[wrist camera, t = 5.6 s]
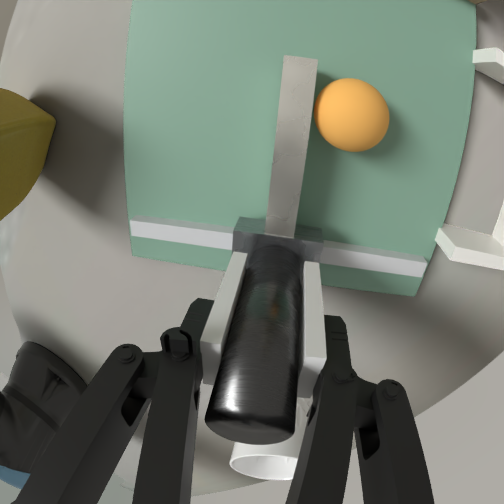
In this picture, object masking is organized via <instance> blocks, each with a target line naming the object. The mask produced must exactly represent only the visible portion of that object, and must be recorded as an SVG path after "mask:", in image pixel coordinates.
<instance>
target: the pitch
mask: <svg viewBox="0 0 504 504" xmlns="http://www.w3.org/2000/svg"><path fill="white" fill-rule="evenodd" d="M484 1H487V0H133V1H132V8H131V15H130V23H129V31H128V41H127V52H126V64H125V81H124V117H123V131H124V168H125V186H126V200H127V212H128V223H129V232H130V241H131V249H132V256H137V257H143V258H149V259H154V260H160V261H166V262H172V263H178V264H185V265H191V266H197V267H203V268H209V269H216V270H222V271H226V270H227V267H228V264H229V262H230V259H231V257H232V242H233V230H234V228H235V225H236V223H237V221H238V219H239V217H240V216H241V217H248V218H256V219H263V220H266V215H267V206H268V198H269V189H270V180H271V171H272V162H273V154H274V144H275V135H276V126H277V117H278V108H279V98H280V89H281V79H282V70H283V60H284V55H289V56H297V57H304V58H311V59H318V65H317V74H316V83H315V91H314V100H313V108H312V116H311V124H310V131H309V139H308V146H307V153H306V160H305V167H304V174H303V181H302V187H301V194H300V200H299V207H298V213H297V219H296V224H298V225H305V226H311V227H318V228H321V229H322V235H323V241H324V245H323V250H322V254H321V258H320V263H319V268H320V278H321V285H325V286H333V287H340V288H348V289H356V290H364V291H371V292H379V293H388V294H396V295H404V296H413V297H415V295H416V293H417V290H418V288H419V286H420V284H421V281H422V279H423V276H424V274H425V272H426V269H427V267H428V264H429V262H430V259H431V257H432V254H433V251H434V249H435V246H436V243H437V242H436V241H435V238H436V235H437V232H438V229H439V228H442V226H443V223H444V220H445V217H446V214H447V211H448V207H449V204H450V201H451V197H452V194H453V190H454V187H455V183H456V179H457V175H458V171H459V167H460V163H461V159H462V154H463V149H464V145H465V140H466V134H467V129H468V123H469V117H470V110H471V103H472V95H473V86H474V75H475V64H473V63H472V62H473V50H476V4H478V3H481V2H484ZM344 78H353V79H359V80H362V81H364V82H367V83H369V84H370V85H372V86H373V87H374V88H376V89H377V90H378V91H379V92H380V94H381V95H382V96H383V98H384V100H385V101H386V104H387V106H388V110H389V126H388V129H387V132H386V134H385V136H384V137H383V139H382V140H381V141H380V142H379V143H378V144H377V145H375V146H374V147H372V148H370V149H368V150H365V151H360V152H349V151H344V150H341V149H338V148H336V147H335V146H333V145H331V144H330V143H329V142H328V141H326V140H325V139H324V137H323V136H322V135H321V134H320V132H319V130H318V128H317V126H316V123H315V119H314V105H315V102H316V99H317V97H318V95H319V93H320V92H321V90H322V89H323V88H324V87H325V86H327V85H328V84H330V83H331V82H333V81H336V80H339V79H344Z"/></svg>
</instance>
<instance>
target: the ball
mask: <svg viewBox="0 0 504 504" xmlns="http://www.w3.org/2000/svg"><path fill="white" fill-rule="evenodd" d="M314 119H315V123H316V126H317V128H318V130H319V132H320V134H321V135H322V136H323V137H324V139H325V140H326V141H328V142H329V143H330V144H331V145H333V146H335V147H336V148H338V149H341V150H344V151H349V152H360V151H365V150H368V149H370V148H372V147H374V146H375V145H377V144H378V143H379V142H380V141H381V140H382V139H383V137H384V136H385V134H386V132H387V129H388V126H389V110H388V106H387V104H386V101H385V100H384V98H383V96H382V95H381V94H380V92H379V91H378V90H377V89H376V88H374V87H373V86H372V85H370V84H369V83H367V82H364V81H362V80H359V79H353V78H344V79H339V80H336V81H333V82H331V83H330V84H328V85H327V86H325V87H324V88H323V89H322V90H321V92H320V93H319V95H318V97H317V99H316V102H315V105H314Z"/></svg>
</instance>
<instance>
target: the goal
mask: <svg viewBox="0 0 504 504" xmlns="http://www.w3.org/2000/svg"><path fill="white" fill-rule="evenodd" d="M472 63H473V64H475V70H477V71H479V72H481V73H483V74H485V75H487V76H489V77H491V78H492V79H494V80H496V81H498V82H500V83H501V84H503V85H504V52H503V51H501V50H500V49H498V48H496V47H495V48H486V49H478V50H473V62H472ZM435 241H436V242H437V244H438V245H439V246H440V248H441V249H442V250H443V251H444V253H445V254H446V255H447V257H448V258H449V259H450V260H451V261H457V262H462V263H468V264H473V265H478V266H484V267H489V268H494V269H499V270H504V201H503V204H502V207H501V211H500V214H499V217H498V219H497V222H496V225H495V228H494V231H493V233H492V235H489V234H485V233H481V232H477V231H473V230H470V229H466V228H462V227H458V226H453V225H449V224H445V223H443V226H442V228H439V229H438V232H437V235H436V238H435Z"/></svg>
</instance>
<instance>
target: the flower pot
mask: <svg viewBox="0 0 504 504" xmlns="http://www.w3.org/2000/svg"><path fill="white" fill-rule="evenodd" d="M55 125H56V120H55V118H54V117H53V116H51V115H50V114H48V113H47V112H45V111H44V110H42V109H41V108H39V107H38V106H36V105H35V104H33V103H32V102H31V101H29V100H27V99H26V98H24V97H22V96H20V95H18V94H16V93H14V92H12V91H9V90H6V89H2V88H0V221H1V220H2V219H3V218H4V217H5V216H6V215H8V214H9V213H10V212H11V211H12V210H13V209H14V208H16V207H17V206H18V205H19V204H20V203H21V202H22V201H23V199H24V198H25V197H26V196H27V194H28V193H29V192H30V190H31V189H32V187H33V186H34V184H35V182H36V181H37V179H38V177H39V175H40V173H41V171H42V169H43V167H44V163H45V159H46V155H47V151H48V148H49V144H50V141H51V137H52V134H53V131H54V128H55Z"/></svg>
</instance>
